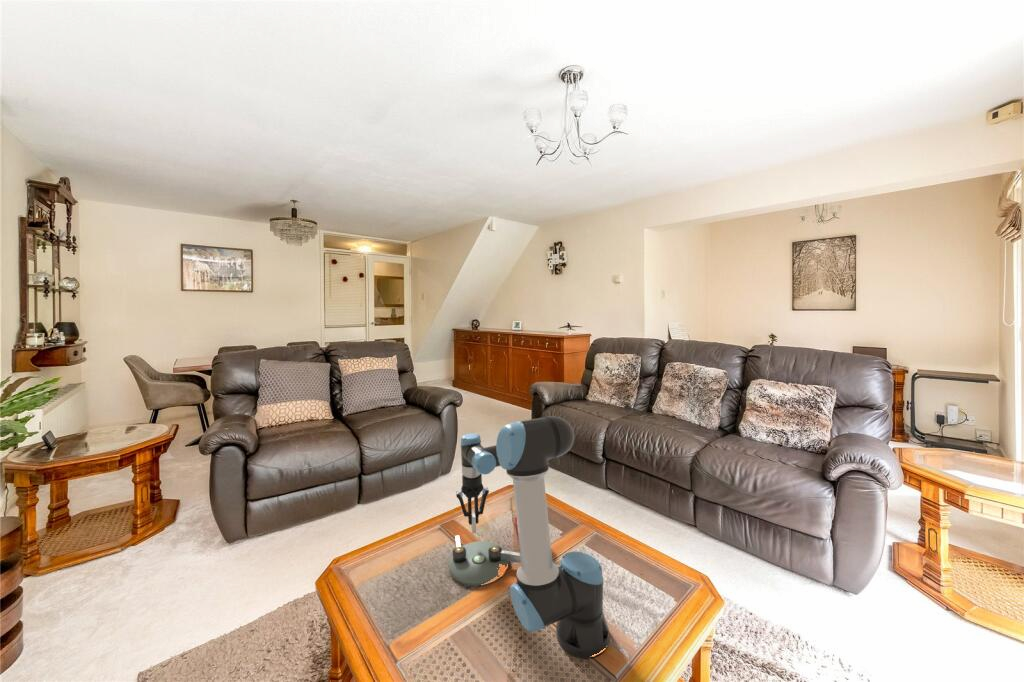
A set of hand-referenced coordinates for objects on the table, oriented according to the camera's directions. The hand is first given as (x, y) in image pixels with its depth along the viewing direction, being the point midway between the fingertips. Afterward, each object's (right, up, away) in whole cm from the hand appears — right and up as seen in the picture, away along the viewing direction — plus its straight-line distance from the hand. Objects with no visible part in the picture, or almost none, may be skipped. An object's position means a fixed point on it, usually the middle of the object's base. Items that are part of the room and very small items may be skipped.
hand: (473, 531), depth 152 cm
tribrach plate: (+3, -8, -8) cm, 12 cm away
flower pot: (+22, -7, +4) cm, 23 cm away
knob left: (-5, -6, -4) cm, 9 cm away
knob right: (+12, -6, -9) cm, 17 cm away
